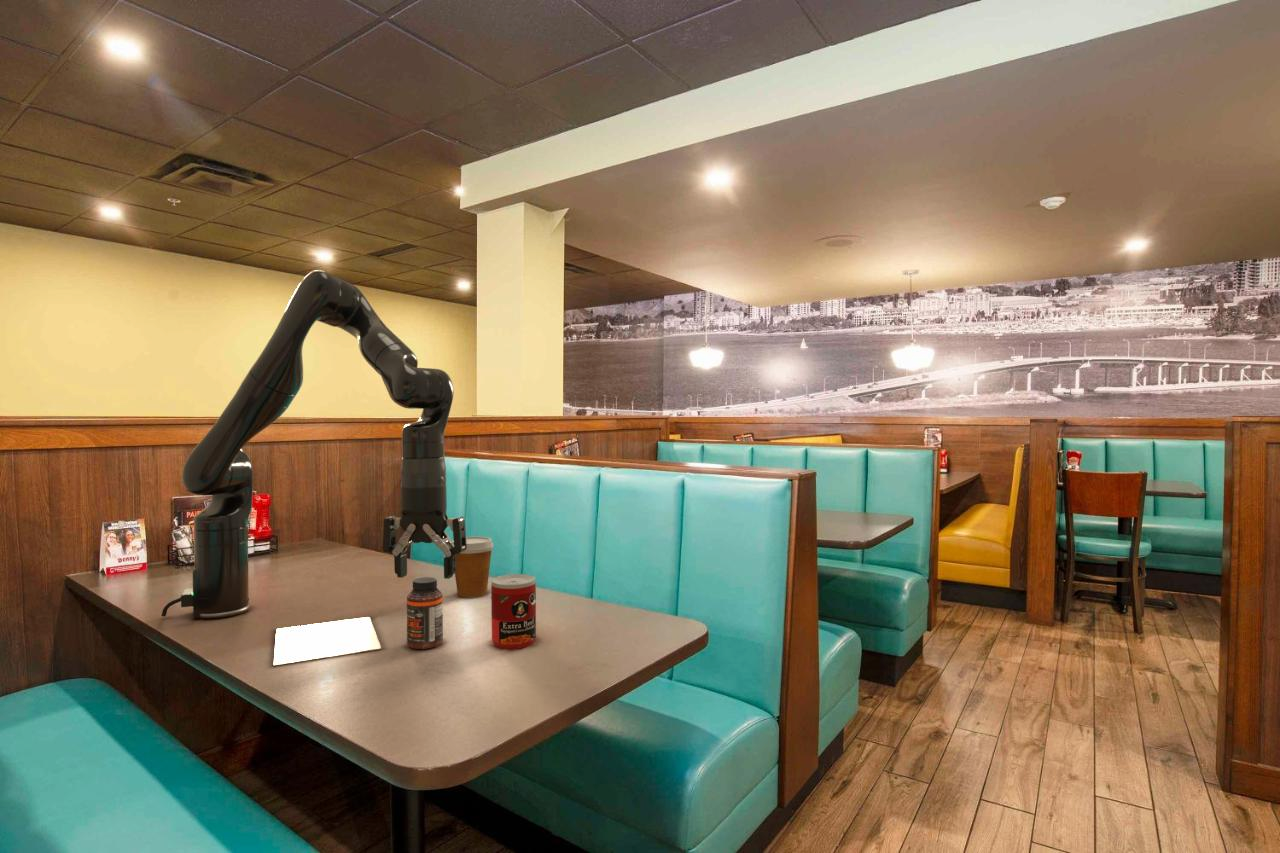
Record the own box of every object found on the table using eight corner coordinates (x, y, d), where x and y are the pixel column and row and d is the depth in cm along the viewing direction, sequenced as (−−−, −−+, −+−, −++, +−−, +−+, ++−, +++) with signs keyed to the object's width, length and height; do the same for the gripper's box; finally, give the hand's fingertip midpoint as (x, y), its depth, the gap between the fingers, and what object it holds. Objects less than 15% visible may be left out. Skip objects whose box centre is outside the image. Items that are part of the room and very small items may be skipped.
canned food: (498, 652, 111) (498, 587, 110) (486, 638, 118) (485, 576, 118) (542, 645, 114) (542, 581, 114) (528, 631, 121) (527, 571, 121)
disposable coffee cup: (482, 600, 142) (482, 544, 142) (442, 598, 144) (441, 543, 144) (501, 589, 151) (500, 537, 151) (462, 587, 153) (461, 535, 153)
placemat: (273, 666, 105) (273, 664, 105) (276, 630, 123) (276, 629, 123) (381, 649, 112) (381, 648, 112) (369, 617, 130) (369, 616, 130)
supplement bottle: (399, 647, 113) (398, 581, 113) (422, 637, 119) (422, 574, 119) (427, 652, 111) (426, 584, 111) (450, 641, 116) (449, 576, 116)
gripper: (471, 481, 117) (473, 573, 117) (396, 481, 119) (397, 571, 119) (453, 486, 110) (455, 583, 110) (373, 485, 112) (375, 581, 112)
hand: (425, 577), depth 115 cm, fingers open, 8 cm apart
